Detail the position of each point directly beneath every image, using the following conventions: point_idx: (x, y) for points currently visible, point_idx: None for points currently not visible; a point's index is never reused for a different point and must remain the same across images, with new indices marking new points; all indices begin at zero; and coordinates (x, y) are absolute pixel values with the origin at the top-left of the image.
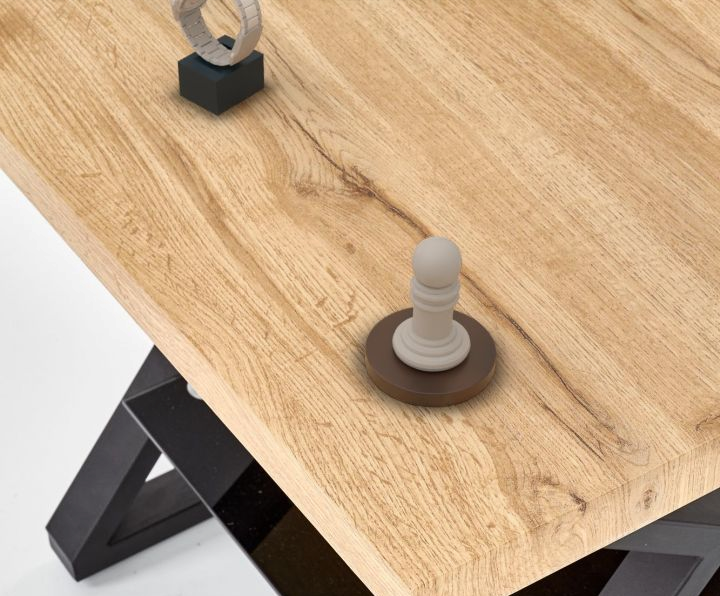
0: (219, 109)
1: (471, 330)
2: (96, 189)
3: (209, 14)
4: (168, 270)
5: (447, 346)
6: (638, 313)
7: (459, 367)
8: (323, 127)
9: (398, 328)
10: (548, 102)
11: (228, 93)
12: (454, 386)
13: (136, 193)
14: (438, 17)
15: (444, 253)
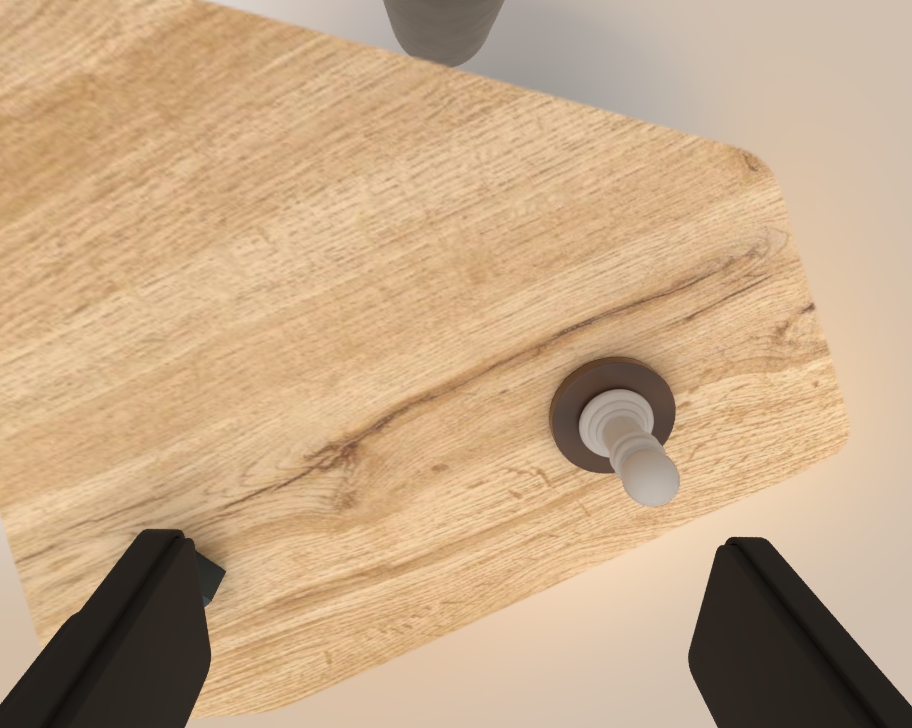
0: (221, 574)
1: (595, 382)
2: (348, 653)
3: (32, 579)
4: (461, 602)
5: (643, 419)
6: (569, 195)
7: (644, 398)
8: (235, 482)
9: (600, 453)
10: (150, 230)
11: (205, 575)
12: (667, 405)
13: (353, 627)
14: None
15: (674, 486)
